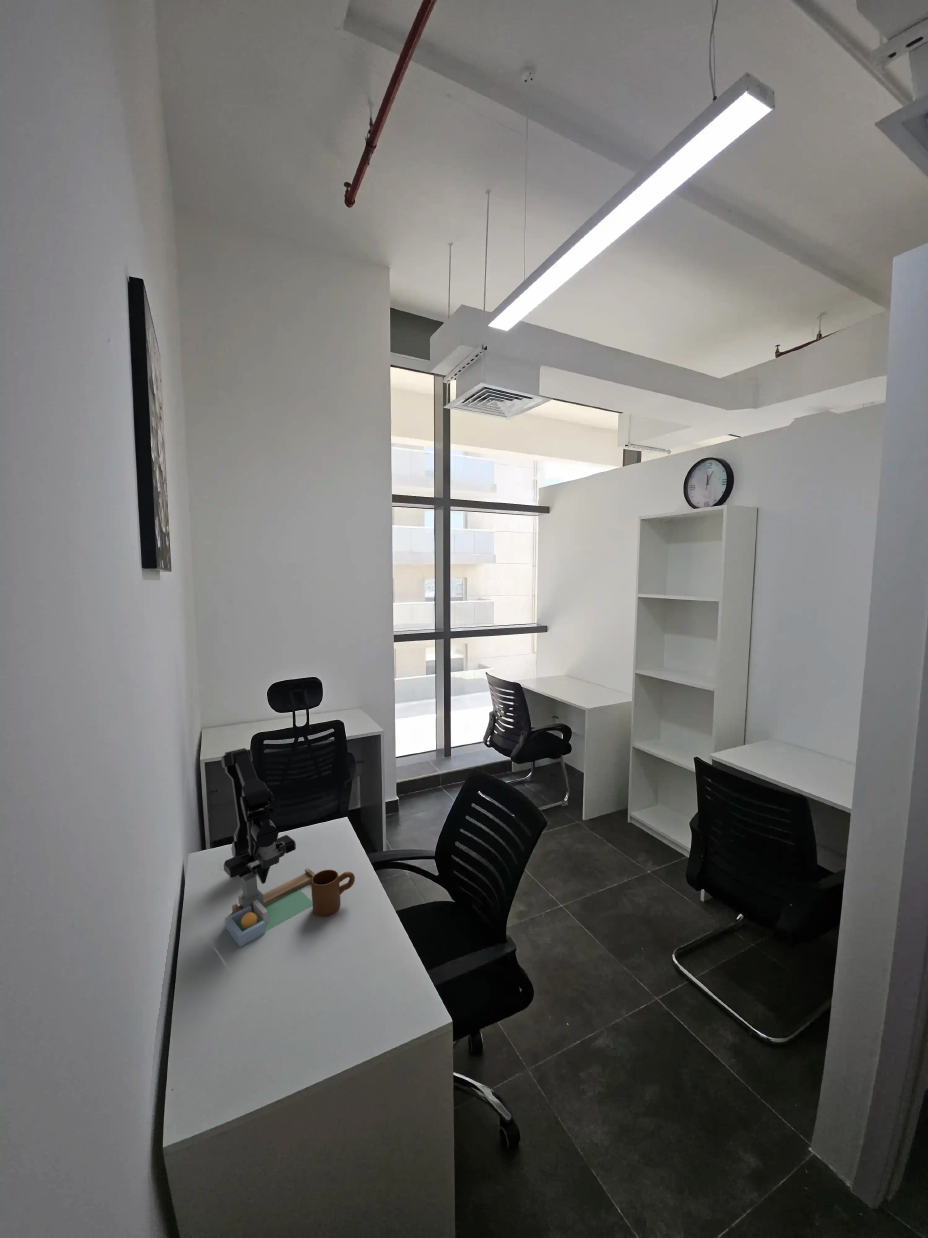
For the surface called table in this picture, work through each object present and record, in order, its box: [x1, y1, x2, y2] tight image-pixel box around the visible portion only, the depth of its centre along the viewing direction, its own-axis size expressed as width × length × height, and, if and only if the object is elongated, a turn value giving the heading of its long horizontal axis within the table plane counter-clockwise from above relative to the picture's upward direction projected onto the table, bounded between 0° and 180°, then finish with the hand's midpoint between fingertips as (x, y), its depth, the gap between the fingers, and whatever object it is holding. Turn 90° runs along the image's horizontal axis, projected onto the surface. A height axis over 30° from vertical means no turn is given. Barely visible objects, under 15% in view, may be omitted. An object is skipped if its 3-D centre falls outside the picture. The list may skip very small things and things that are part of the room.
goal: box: [224, 906, 267, 948], centre depth 129 cm, size 10×7×3 cm, turn 45°
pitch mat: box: [237, 889, 313, 932], centre depth 135 cm, size 10×21×1 cm, turn 135°
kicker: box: [237, 872, 268, 923], centre depth 135 cm, size 12×5×9 cm, turn 45°
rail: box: [231, 867, 316, 914], centre depth 143 cm, size 5×23×2 cm, turn 135°
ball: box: [241, 912, 257, 930], centre depth 130 cm, size 4×4×4 cm
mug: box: [310, 869, 356, 918], centre depth 137 cm, size 12×8×9 cm, turn 112°
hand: (263, 883), depth 140 cm, fingers closed
